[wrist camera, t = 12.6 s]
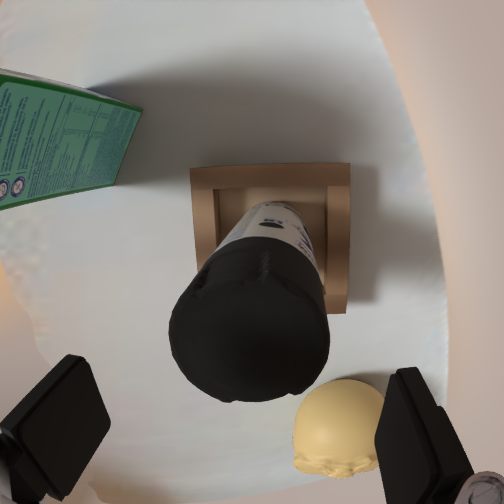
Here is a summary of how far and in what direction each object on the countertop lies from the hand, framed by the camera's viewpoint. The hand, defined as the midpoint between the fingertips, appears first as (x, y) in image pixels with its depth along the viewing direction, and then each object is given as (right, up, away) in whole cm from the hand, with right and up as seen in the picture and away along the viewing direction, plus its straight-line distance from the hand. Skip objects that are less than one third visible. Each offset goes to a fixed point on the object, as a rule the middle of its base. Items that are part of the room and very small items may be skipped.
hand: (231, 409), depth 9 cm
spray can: (+3, +6, +23) cm, 24 cm away
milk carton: (-17, +18, +23) cm, 33 cm away
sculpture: (+12, -15, +29) cm, 34 cm away
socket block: (+3, +6, +23) cm, 25 cm away
